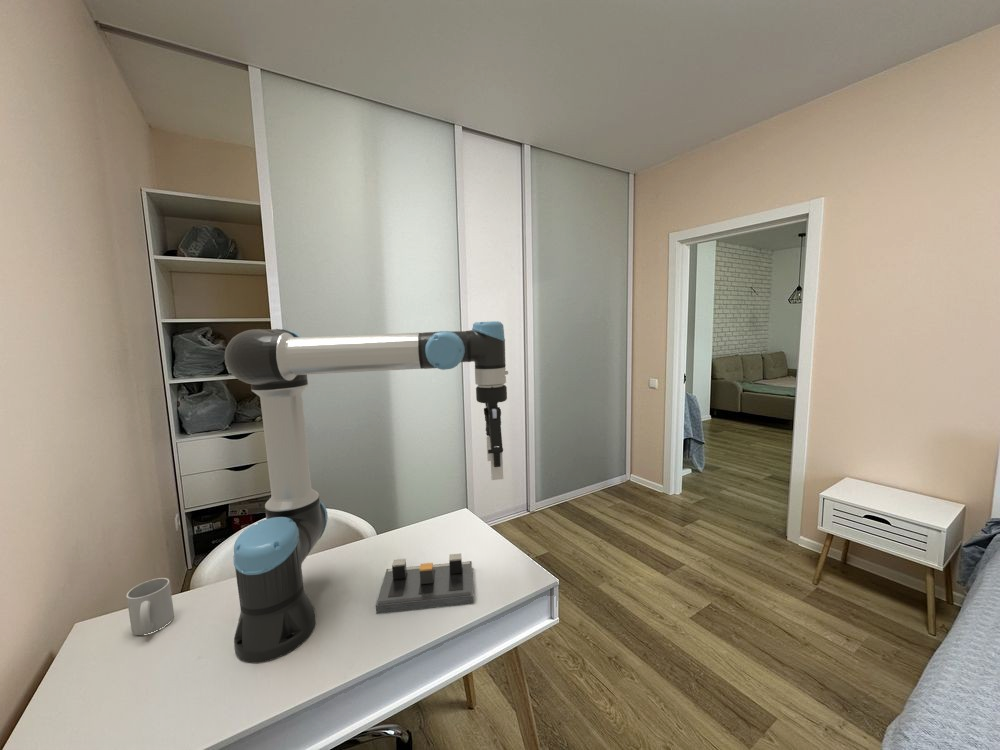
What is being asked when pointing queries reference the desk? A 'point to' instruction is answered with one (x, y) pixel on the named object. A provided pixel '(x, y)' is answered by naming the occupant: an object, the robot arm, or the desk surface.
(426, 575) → the toggle
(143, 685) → the desk surface
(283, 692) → the desk surface
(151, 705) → the desk surface
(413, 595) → the panel
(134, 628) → the cup
